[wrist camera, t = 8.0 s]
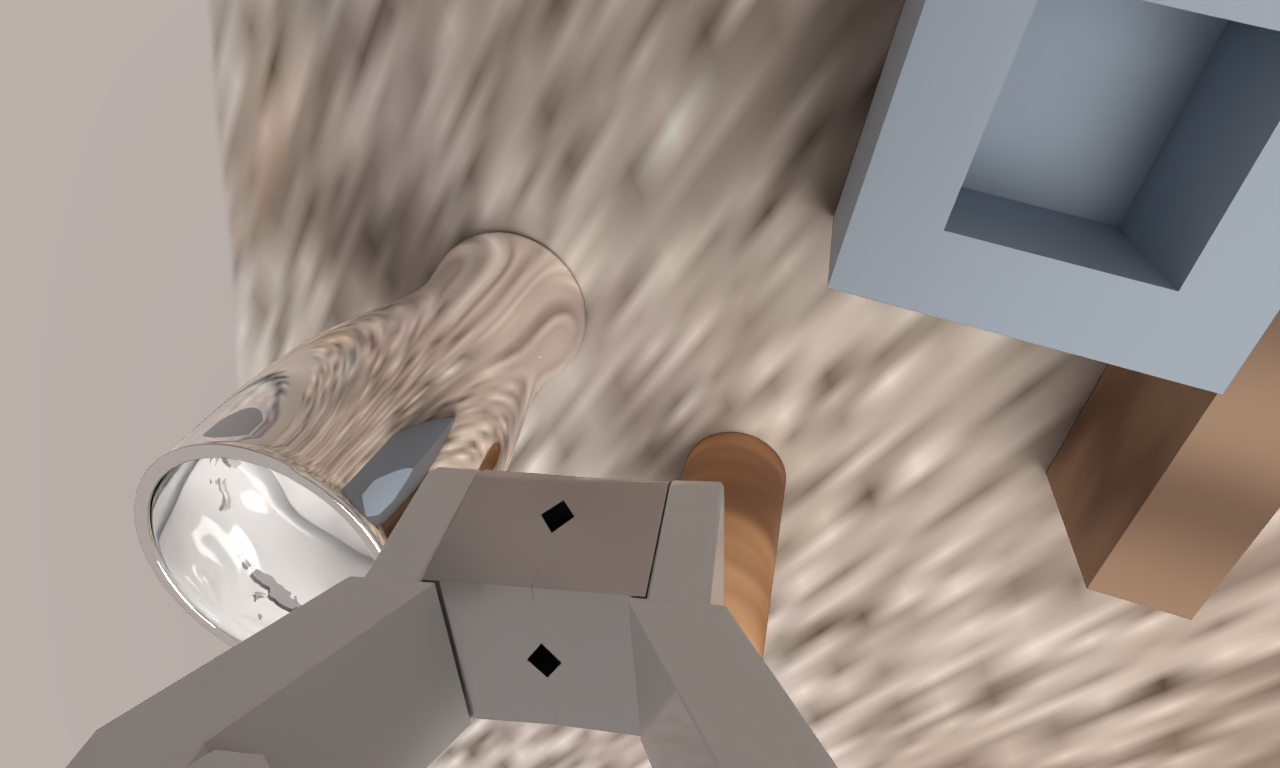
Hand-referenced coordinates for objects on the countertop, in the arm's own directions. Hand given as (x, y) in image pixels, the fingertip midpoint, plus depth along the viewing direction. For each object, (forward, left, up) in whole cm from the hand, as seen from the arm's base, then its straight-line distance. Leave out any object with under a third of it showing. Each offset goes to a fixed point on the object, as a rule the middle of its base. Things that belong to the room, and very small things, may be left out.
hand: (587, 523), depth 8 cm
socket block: (-3, +8, -20) cm, 22 cm away
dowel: (+13, +2, -20) cm, 24 cm away
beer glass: (+9, -8, -20) cm, 23 cm away
